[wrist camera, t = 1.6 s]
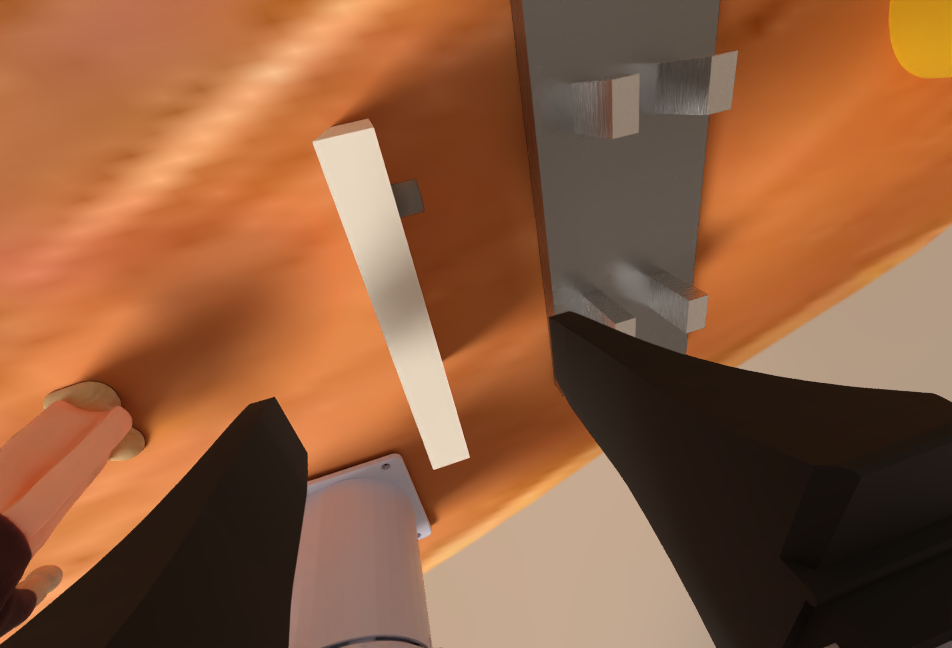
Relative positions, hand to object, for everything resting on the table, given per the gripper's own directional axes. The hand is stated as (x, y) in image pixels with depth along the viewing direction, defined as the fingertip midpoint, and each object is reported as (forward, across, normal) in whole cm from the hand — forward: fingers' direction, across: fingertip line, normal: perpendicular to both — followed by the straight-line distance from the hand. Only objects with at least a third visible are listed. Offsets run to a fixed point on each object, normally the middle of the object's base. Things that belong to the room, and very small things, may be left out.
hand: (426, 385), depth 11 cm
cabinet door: (+10, 0, 0) cm, 10 cm away
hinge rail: (+10, -11, 0) cm, 14 cm away
